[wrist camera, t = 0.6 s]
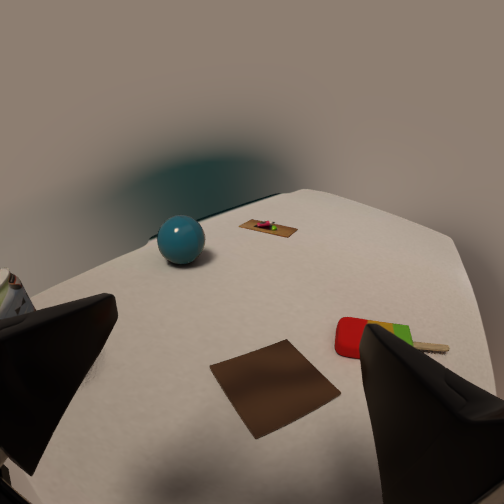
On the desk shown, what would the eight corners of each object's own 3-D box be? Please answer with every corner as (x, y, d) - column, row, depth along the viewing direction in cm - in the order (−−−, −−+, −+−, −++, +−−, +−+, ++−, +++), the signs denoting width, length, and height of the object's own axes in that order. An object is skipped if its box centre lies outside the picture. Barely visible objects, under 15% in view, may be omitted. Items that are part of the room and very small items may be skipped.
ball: (183, 248, 51) (182, 207, 47) (215, 260, 46) (215, 215, 43) (149, 262, 44) (145, 217, 41) (180, 278, 40) (177, 227, 37)
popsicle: (335, 325, 32) (339, 313, 31) (441, 339, 28) (446, 328, 27) (332, 356, 27) (336, 343, 26) (450, 368, 23) (457, 357, 22)
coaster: (340, 395, 22) (341, 392, 22) (255, 439, 18) (255, 437, 18) (286, 341, 29) (286, 338, 29) (209, 368, 25) (209, 365, 25)
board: (287, 237, 58) (288, 231, 58) (238, 226, 63) (239, 220, 63) (297, 229, 63) (298, 223, 63) (251, 220, 68) (252, 214, 68)
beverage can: (81, 384, 20) (35, 275, 15) (26, 413, 15) (-39, 308, 10) (60, 349, 24) (25, 251, 19) (12, 373, 18) (-35, 276, 13)
